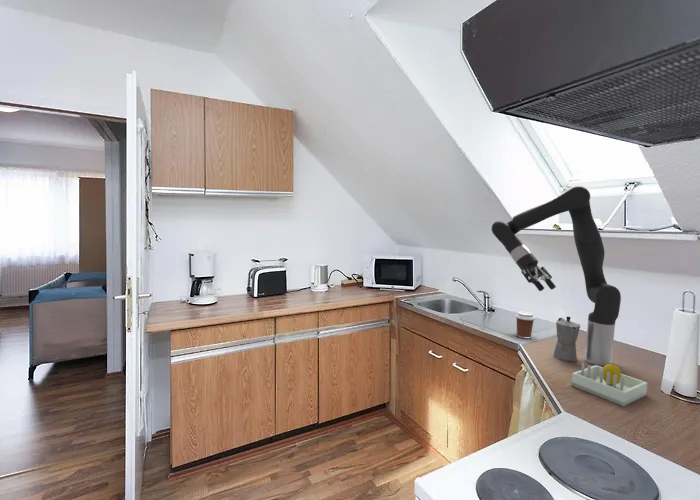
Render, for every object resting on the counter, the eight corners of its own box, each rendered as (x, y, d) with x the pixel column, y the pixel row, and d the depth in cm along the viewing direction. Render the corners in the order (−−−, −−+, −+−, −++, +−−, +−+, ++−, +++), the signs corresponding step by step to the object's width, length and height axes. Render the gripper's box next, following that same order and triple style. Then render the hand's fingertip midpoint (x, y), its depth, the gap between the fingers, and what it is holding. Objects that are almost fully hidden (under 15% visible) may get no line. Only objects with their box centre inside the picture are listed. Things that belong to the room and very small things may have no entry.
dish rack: (594, 376, 134) (596, 355, 134) (646, 395, 121) (648, 372, 120) (571, 385, 126) (573, 363, 126) (623, 406, 113) (626, 381, 112)
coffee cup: (537, 338, 177) (539, 315, 176) (522, 339, 175) (524, 315, 174) (525, 333, 186) (526, 310, 184) (509, 333, 183) (511, 311, 182)
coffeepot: (584, 364, 146) (588, 321, 144) (559, 362, 147) (563, 320, 146) (567, 351, 161) (570, 312, 159) (545, 349, 162) (548, 310, 161)
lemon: (611, 389, 121) (613, 367, 120) (596, 382, 127) (598, 360, 126) (624, 388, 122) (626, 366, 122) (609, 381, 128) (611, 360, 127)
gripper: (520, 253, 147) (545, 285, 138) (539, 252, 154) (564, 282, 146) (507, 264, 152) (531, 295, 143) (526, 262, 159) (550, 292, 151)
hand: (548, 289), depth 144 cm, fingers open, 8 cm apart
